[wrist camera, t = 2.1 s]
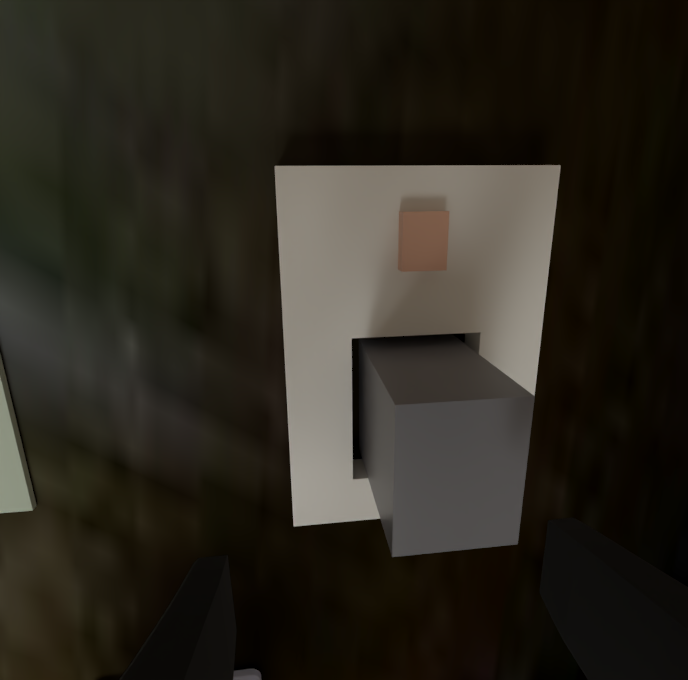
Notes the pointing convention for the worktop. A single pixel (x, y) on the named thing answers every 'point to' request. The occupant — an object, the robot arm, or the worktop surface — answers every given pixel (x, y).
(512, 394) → the block
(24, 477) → the rubber mat
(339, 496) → the white flat block
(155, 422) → the worktop surface
